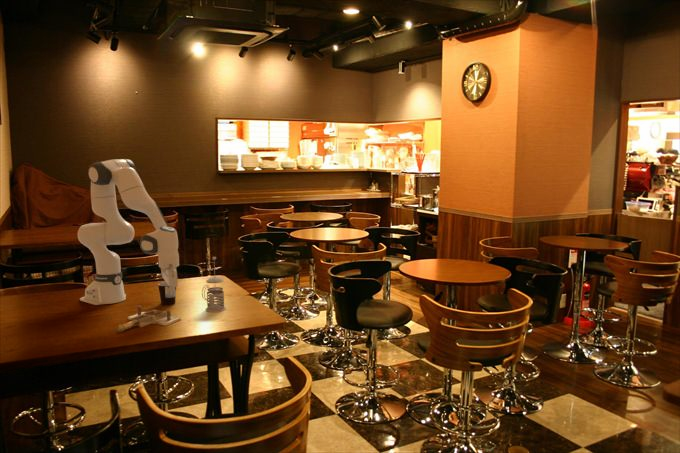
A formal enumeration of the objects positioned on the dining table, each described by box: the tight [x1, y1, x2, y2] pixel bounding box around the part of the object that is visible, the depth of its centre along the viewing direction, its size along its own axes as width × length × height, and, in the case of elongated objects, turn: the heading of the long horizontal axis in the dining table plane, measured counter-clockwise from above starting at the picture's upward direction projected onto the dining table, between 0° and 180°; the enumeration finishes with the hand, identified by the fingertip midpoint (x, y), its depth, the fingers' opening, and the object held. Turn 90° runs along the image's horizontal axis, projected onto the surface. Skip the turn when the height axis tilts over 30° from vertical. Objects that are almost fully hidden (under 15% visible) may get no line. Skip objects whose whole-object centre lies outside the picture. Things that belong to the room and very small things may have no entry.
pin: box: [117, 320, 139, 333], centre depth 231 cm, size 9×3×3 cm, turn 154°
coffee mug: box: [157, 281, 177, 307], centre depth 271 cm, size 12×9×10 cm
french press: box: [201, 256, 227, 313], centre depth 258 cm, size 10×12×25 cm
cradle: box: [127, 305, 182, 328], centre depth 241 cm, size 22×15×5 cm
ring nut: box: [165, 286, 175, 298], centre depth 255 cm, size 4×4×5 cm
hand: (170, 291), depth 255 cm, fingers closed on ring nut, 4 cm apart
